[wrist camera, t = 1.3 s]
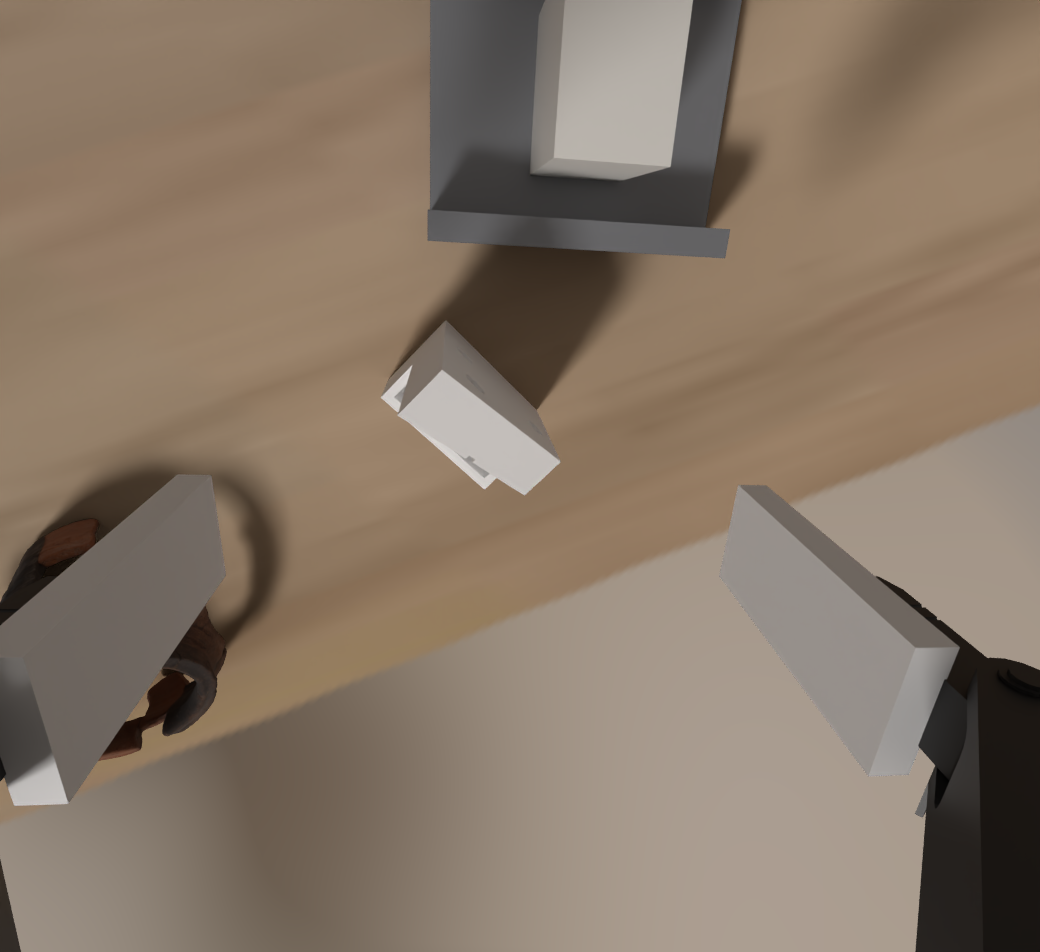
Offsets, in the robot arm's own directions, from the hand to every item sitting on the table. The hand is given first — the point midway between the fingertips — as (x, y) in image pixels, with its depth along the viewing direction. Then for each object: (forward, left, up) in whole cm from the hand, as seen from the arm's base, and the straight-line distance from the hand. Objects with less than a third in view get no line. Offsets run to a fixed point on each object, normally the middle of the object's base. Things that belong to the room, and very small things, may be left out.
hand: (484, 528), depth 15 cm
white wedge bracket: (0, 0, -13) cm, 13 cm away
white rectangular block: (+4, +12, -12) cm, 17 cm away
